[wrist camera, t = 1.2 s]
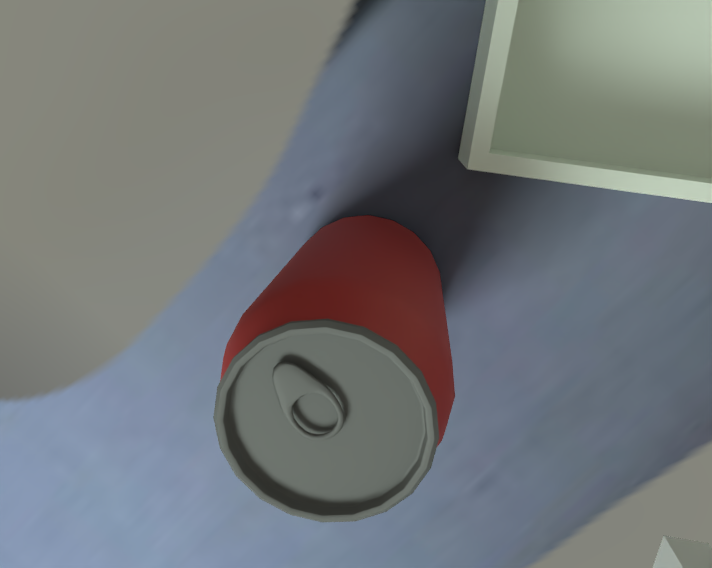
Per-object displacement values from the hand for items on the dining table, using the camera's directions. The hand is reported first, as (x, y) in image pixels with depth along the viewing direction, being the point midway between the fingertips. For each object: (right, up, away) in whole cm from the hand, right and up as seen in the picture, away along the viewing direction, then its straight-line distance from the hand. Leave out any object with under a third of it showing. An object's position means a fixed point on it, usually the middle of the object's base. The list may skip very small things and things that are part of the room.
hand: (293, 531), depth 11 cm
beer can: (+2, +5, +15) cm, 16 cm away
